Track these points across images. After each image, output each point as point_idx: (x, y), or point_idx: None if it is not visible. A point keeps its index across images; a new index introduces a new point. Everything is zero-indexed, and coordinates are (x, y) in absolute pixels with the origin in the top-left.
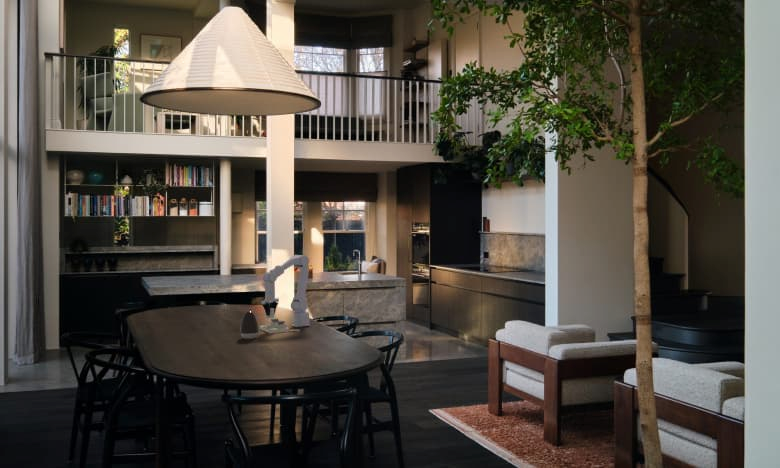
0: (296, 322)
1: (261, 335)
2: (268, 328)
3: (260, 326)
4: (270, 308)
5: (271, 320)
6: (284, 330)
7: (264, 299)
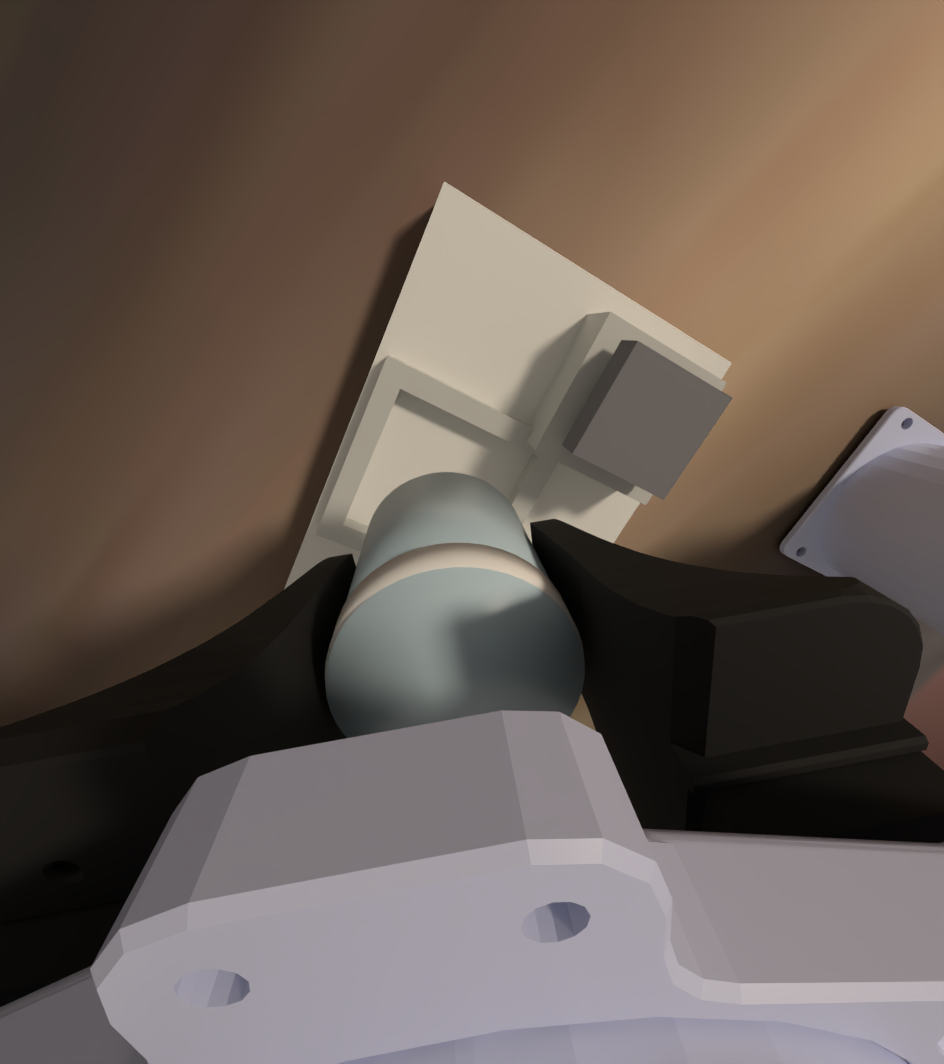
0: (857, 552)
1: (118, 646)
2: (333, 549)
3: (423, 237)
4: (420, 724)
5: (611, 364)
6: None
7: (230, 927)
